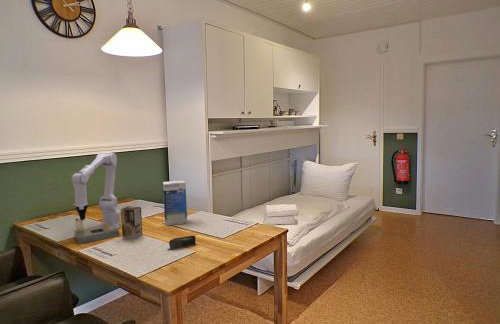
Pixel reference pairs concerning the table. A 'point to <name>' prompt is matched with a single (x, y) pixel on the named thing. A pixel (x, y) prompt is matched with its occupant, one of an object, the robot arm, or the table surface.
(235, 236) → the table surface
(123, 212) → the coffee box
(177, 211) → the string lights box
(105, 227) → the port cover
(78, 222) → the cream can
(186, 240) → the mobile phone
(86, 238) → the grey flat block
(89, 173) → the robot arm
